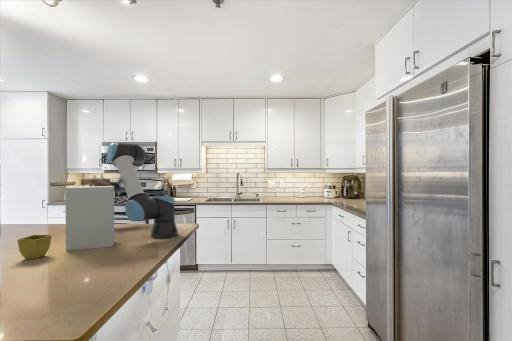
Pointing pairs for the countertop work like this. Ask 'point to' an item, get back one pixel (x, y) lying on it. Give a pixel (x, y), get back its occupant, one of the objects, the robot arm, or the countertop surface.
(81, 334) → the countertop surface
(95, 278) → the countertop surface
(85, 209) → the stand
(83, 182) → the T-bar
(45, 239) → the flower pot
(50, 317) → the countertop surface
